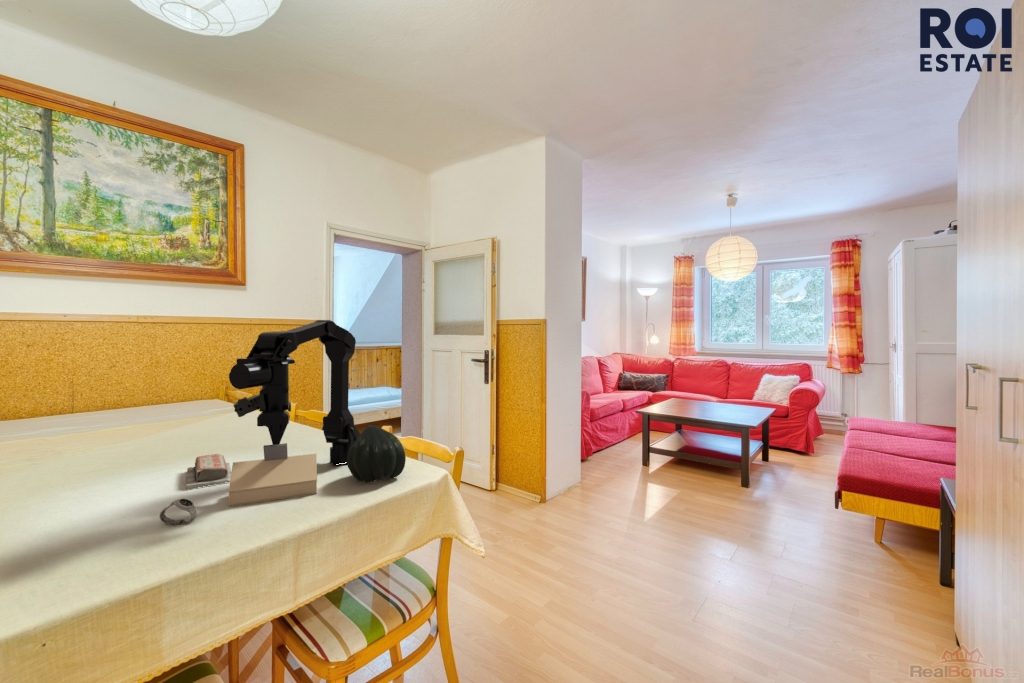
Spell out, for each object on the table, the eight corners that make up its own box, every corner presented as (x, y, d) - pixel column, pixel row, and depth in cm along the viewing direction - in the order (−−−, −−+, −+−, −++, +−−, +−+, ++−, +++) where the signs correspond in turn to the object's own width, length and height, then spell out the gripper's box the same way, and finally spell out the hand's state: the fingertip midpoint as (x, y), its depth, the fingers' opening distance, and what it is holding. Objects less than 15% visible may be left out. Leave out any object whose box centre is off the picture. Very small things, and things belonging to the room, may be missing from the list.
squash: (409, 465, 108) (402, 415, 117) (347, 474, 103) (345, 421, 112) (405, 487, 118) (399, 440, 127) (348, 497, 113) (346, 446, 122)
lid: (316, 454, 109) (316, 440, 106) (317, 480, 103) (317, 466, 100) (233, 463, 101) (230, 448, 98) (228, 492, 95) (226, 477, 92)
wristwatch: (190, 526, 86) (190, 501, 86) (156, 528, 84) (155, 504, 84) (200, 518, 89) (199, 495, 89) (166, 521, 88) (166, 497, 88)
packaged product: (187, 456, 119) (229, 450, 125) (187, 473, 119) (229, 466, 125) (186, 472, 105) (233, 465, 111) (186, 492, 105) (233, 484, 111)
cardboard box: (315, 483, 110) (315, 472, 110) (316, 493, 103) (316, 481, 103) (234, 494, 102) (234, 482, 102) (229, 506, 95) (229, 493, 95)
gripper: (241, 380, 107) (242, 440, 108) (229, 390, 91) (230, 462, 91) (291, 378, 112) (291, 436, 113) (288, 388, 95) (288, 456, 96)
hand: (275, 446), depth 103 cm, fingers closed
